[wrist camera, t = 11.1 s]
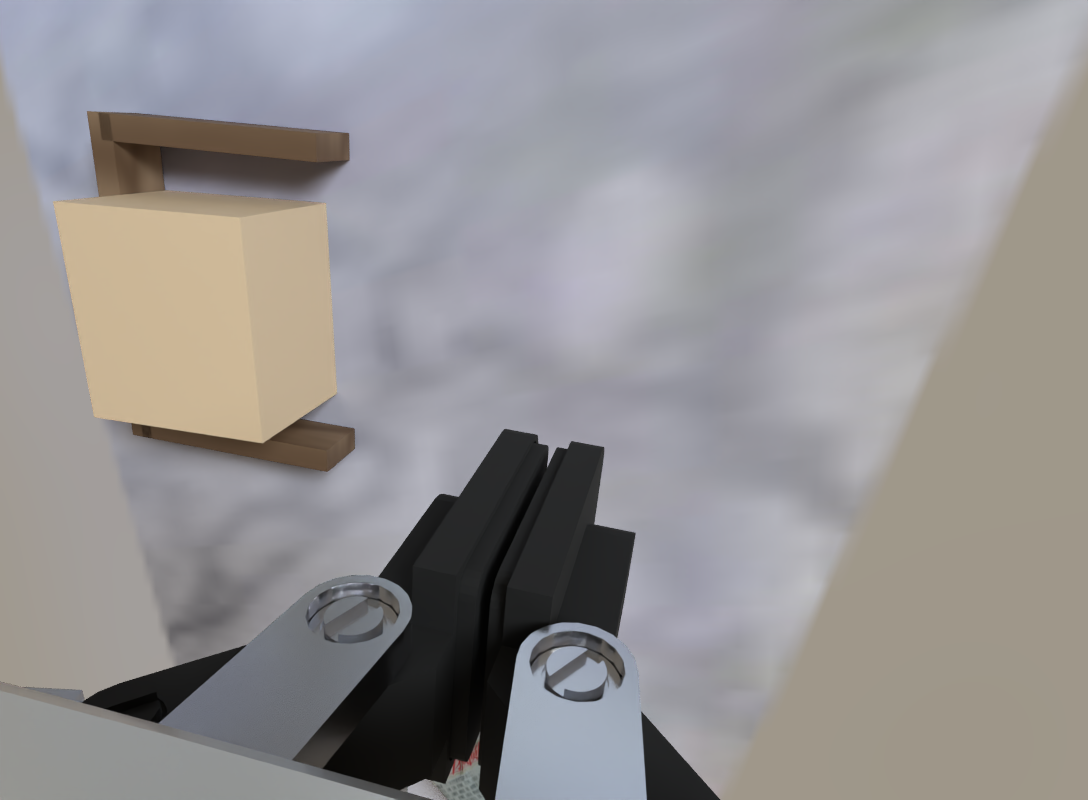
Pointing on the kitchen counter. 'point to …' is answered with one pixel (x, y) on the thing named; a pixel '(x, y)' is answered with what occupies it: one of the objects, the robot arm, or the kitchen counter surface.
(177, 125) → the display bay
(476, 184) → the kitchen counter surface
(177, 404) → the carton
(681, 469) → the kitchen counter surface
